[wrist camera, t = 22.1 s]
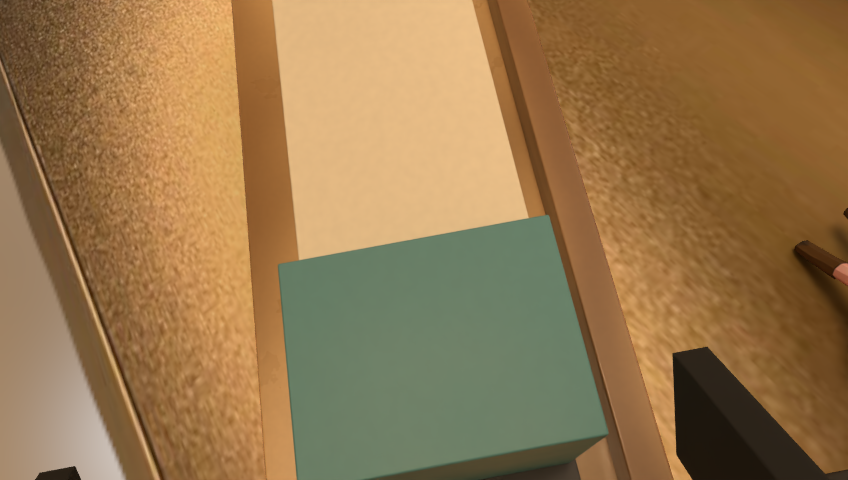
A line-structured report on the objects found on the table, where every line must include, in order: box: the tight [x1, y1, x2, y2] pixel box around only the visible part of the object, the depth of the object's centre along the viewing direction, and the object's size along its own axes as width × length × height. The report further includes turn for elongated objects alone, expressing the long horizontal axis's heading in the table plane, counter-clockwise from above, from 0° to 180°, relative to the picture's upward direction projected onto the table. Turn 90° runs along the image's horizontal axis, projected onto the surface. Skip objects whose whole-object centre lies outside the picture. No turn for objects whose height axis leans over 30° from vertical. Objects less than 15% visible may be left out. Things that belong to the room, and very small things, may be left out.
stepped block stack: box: [272, 0, 609, 480], centre depth 25 cm, size 24×8×9 cm, turn 10°
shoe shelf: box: [232, 0, 674, 480], centre depth 30 cm, size 14×30×6 cm, turn 10°
